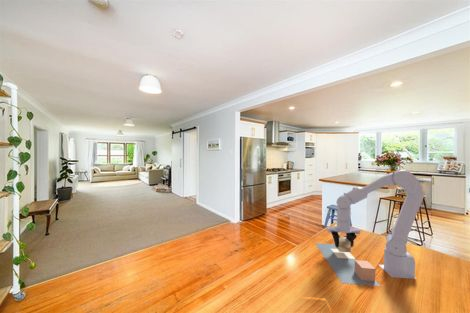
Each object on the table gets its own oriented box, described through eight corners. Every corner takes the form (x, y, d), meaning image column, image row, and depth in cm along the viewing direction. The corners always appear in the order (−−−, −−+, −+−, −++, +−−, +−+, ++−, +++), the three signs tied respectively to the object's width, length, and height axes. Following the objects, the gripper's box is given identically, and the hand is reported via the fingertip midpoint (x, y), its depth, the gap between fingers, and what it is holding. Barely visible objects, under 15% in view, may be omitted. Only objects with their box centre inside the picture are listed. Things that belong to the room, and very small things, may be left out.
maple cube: (345, 246, 92) (345, 237, 91) (350, 252, 87) (350, 242, 86) (334, 246, 92) (335, 236, 92) (339, 251, 87) (339, 241, 87)
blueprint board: (341, 245, 98) (342, 244, 98) (380, 287, 68) (380, 285, 68) (315, 244, 99) (315, 242, 99) (341, 284, 70) (341, 282, 70)
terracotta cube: (367, 272, 76) (367, 261, 75) (375, 281, 71) (375, 268, 70) (354, 271, 76) (354, 260, 76) (361, 280, 71) (361, 267, 71)
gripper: (354, 217, 92) (353, 243, 93) (324, 216, 93) (324, 241, 94) (362, 223, 85) (361, 251, 86) (330, 221, 86) (329, 249, 87)
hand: (342, 246), depth 89 cm, fingers closed on maple cube, 5 cm apart
